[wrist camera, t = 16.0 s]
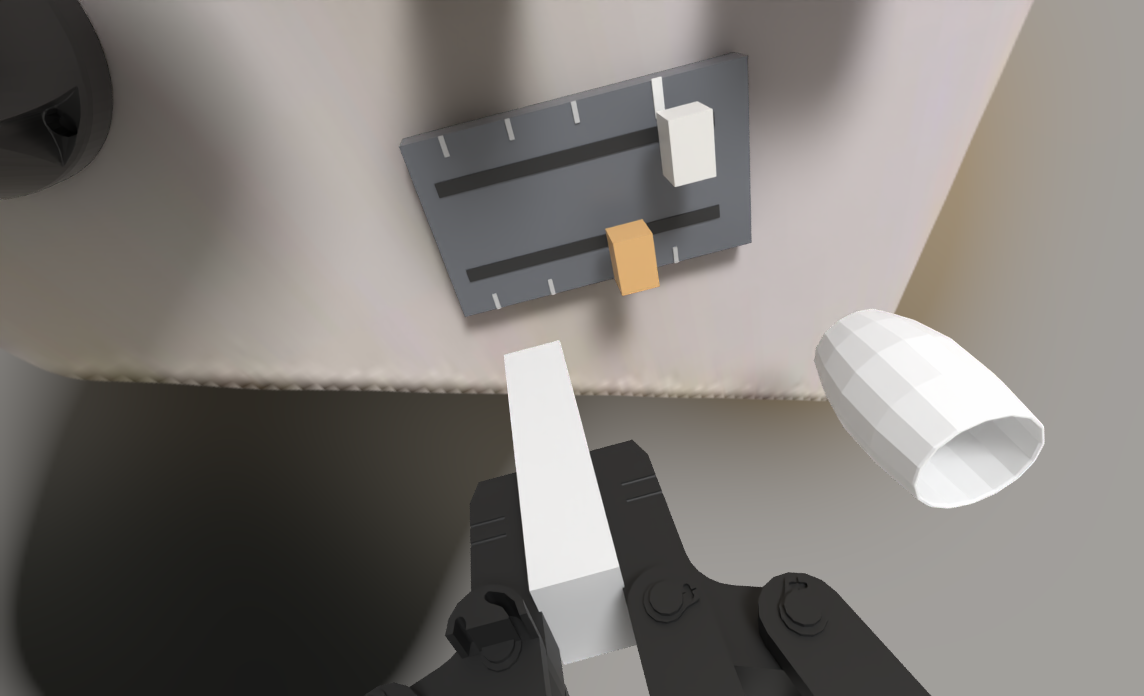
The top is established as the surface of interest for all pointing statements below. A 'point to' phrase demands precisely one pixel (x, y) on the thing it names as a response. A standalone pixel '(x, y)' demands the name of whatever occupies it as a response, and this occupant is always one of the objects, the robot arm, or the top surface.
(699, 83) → the console
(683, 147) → the fader white
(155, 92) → the top surface
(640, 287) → the fader orange
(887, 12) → the top surface
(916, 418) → the cup
